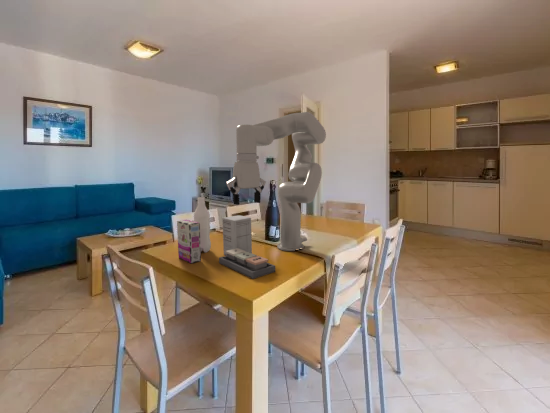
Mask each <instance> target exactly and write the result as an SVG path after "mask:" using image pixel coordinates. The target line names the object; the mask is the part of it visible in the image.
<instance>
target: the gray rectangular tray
mask: <svg viewBox="0 0 550 413" xmlns="http://www.w3.org/2000/svg"><path fill="white" fill-rule="evenodd" d="M218 263H219V264H220V265H221V266H224V267H226V268H228V269H231V270H233V271H235V272H236V273H240V274H241V275H244V276H246V277H247V278H250V279H252V280H254V279H258V278H262V277H263V276H264V277H265V276H266V275H269V274H273V273H276V265H274V264H273V263H269V262H267V266H266V267H262V268H259V269H254V268H251V267H249V266H247V264H245V265H244V264H242V263H239V262H237V260H232V259H230V258H228V257H227V256H226V255H223V256H220V257H218Z"/></svg>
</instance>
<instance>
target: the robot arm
mask: <svg viewBox="0 0 550 413" xmlns="http://www.w3.org/2000/svg"><path fill="white" fill-rule="evenodd" d="M235 134H236V140H235V141H236V162H235V161H234V165H233V171H232V178H231V179H229V180H228V181H226V186H227V188H228V191H230V194H232V203H233V205H237V206H238V205H240V194H239V192H240V191H241V190H247V189H253V190H254V193H253V194H254V195H253V196H254V197H253V200H254V203H257V204H260V203H261V197H262V196H261V195H262V194H261V193H262V191H263V190H264V188H265V186H266V184H267V181H266V180H265V179H263V178H261V173H260V167H259V162H258V160H259V158H260V157H259V155H258V154H257V152H258V151H257V150H258V149H257V147H266V146H267V147H268V146H269V145H271V144H272V143H273V142H274V140H280V139H284V138H286V137H288V136H290V135H291V141H292V143H293V147H294V157H293V159H292V161H291V164H290V166H289V171H288V174H287V175H288V178H289V180H290V181H284V182H282V183H281V184H280V185H279V186H278V190H277V192H278V193H277V195H278V199H279V205H280V243H278V244H277V247H276V248H277V250H280V251H285V252H296V251H295V250H296V249H300V248H303V247H305V246H304V244H303V242H306V241H308V239H307V237H306V236H305V237H301V233H302V232H301V231H302V230H301V224H302V223H301V221H302V220H301V216H302V215H301V214H302V213H301V211H302V210H301V208H300V206H299V203H300V204H310V203H312V202H313V201H314V199H315V197H316V194H317V192H318V188H319V185H320V182H321V179H322V177H323V176H322V174H323V172H322V167H321V165H320V164H319V163H317V162H314V161H312V159H313V155H312V152H311V151H310V149H309V147H308V146H309V145H311V146H312V145H320V144H321V145H322V144H323V143H324V142H325V140H326V139H327V138H326V137H327V133H326V129H325V127H324V126H323V125H322V123H321V122H320V121H319V119H317V117H316V116H315V115H314V114H313V113H311V112H309V111H303V112H302V111H301V112H295V113H289V114H287V115H284V116H281V117H278V118H274V119H269V120H267V121H264V122H260V123H255V124H239V125H237V126H236V131H235ZM303 249H304V248H303Z"/></svg>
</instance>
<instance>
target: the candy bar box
mask: <svg viewBox="0 0 550 413" xmlns="http://www.w3.org/2000/svg"><path fill="white" fill-rule="evenodd" d="M176 227H177V228H176V229H177V233H176V234H177V250H178V251H177V252H178V259H180V260H183V261H185V262H188V263H190V264H195V263H199V262H201V261H202V255H201V253H202V252H201V248H200V223H198V222H194V220H189V219H181V220H177V221H176Z"/></svg>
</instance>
